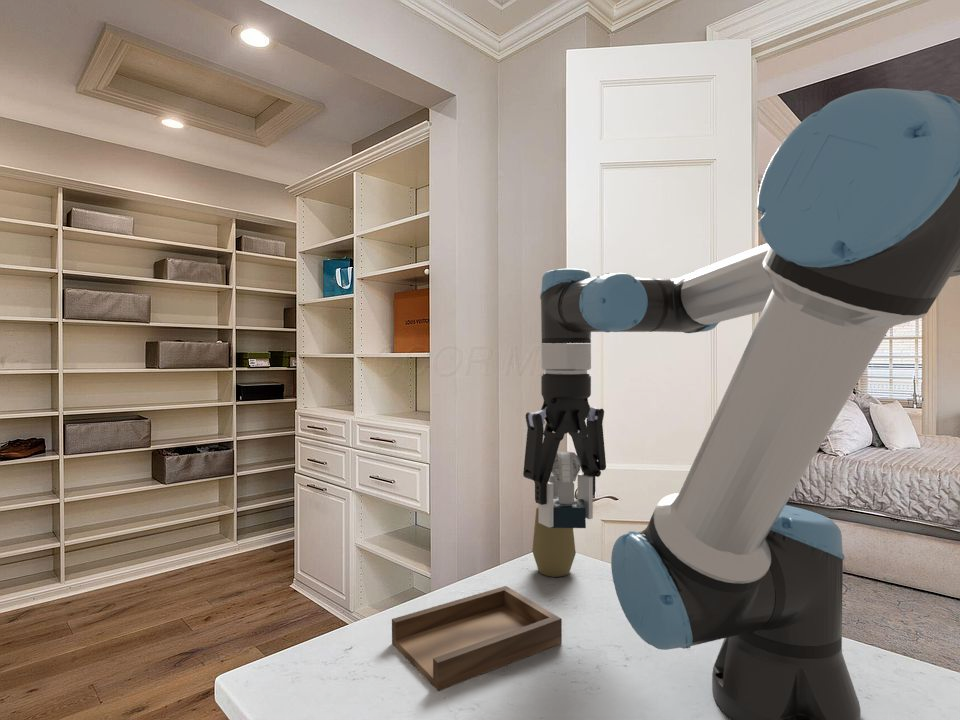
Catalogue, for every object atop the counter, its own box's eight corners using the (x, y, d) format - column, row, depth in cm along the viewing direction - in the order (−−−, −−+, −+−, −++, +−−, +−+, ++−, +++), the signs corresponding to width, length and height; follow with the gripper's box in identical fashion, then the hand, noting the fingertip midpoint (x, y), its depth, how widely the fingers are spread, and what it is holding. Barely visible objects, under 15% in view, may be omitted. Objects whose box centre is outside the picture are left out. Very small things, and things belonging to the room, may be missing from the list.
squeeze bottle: (582, 568, 107) (582, 474, 106) (565, 583, 100) (564, 482, 99) (543, 560, 111) (543, 469, 111) (524, 574, 104) (524, 477, 104)
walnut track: (561, 643, 80) (561, 618, 80) (437, 691, 69) (437, 662, 69) (506, 607, 91) (505, 585, 91) (391, 643, 80) (391, 619, 80)
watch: (583, 514, 90) (581, 447, 90) (586, 532, 82) (584, 458, 82) (548, 514, 91) (546, 447, 91) (548, 531, 83) (546, 458, 83)
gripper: (598, 369, 94) (597, 505, 95) (497, 372, 84) (498, 524, 85) (631, 371, 88) (630, 516, 89) (526, 375, 78) (527, 539, 79)
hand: (565, 520), depth 87 cm, fingers closed on watch, 7 cm apart
